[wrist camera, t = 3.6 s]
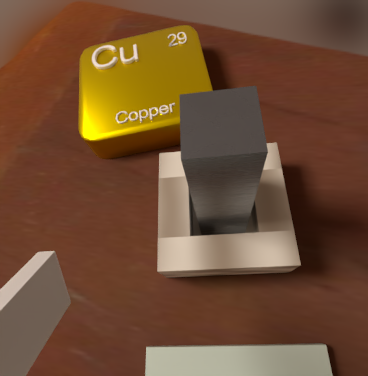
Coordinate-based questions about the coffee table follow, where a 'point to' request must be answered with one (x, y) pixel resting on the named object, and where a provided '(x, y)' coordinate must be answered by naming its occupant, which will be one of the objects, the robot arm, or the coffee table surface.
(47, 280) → the robot arm
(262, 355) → the plate
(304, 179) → the coffee table surface
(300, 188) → the coffee table surface
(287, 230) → the socket block
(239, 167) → the peg
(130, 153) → the element tile
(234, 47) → the coffee table surface
